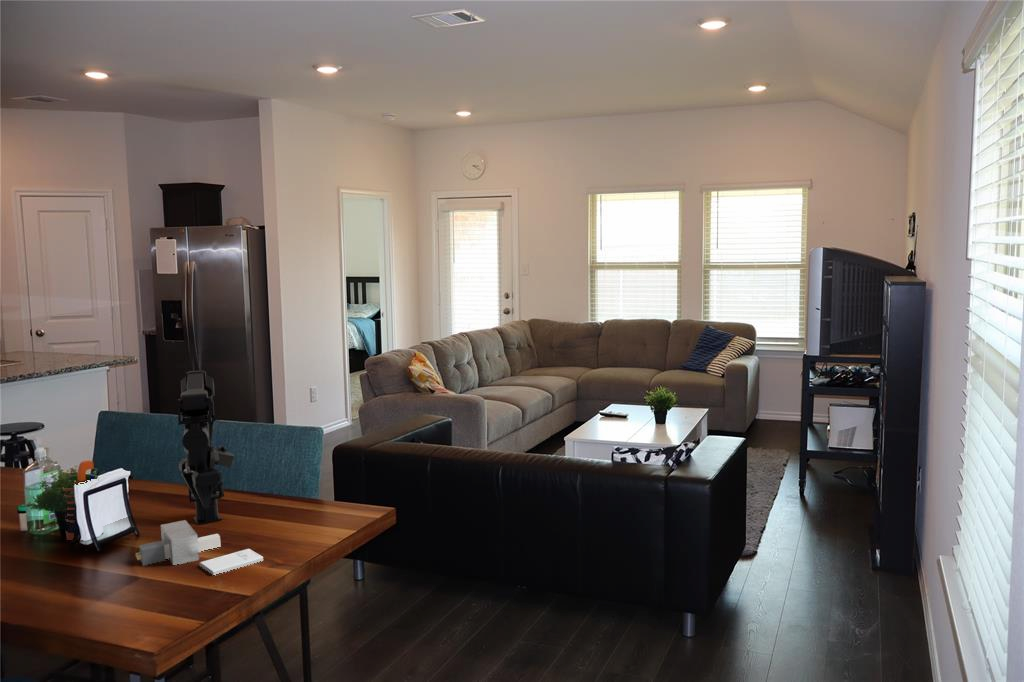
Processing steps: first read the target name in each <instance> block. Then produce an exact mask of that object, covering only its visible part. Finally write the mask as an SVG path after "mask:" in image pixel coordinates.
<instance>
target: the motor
mask: <svg viewBox="0 0 1024 682" xmlns="http://www.w3.org/2000/svg"><path fill="white" fill-rule="evenodd" d="M94 466H95V465H94V460H93V461H92V460H83V461H81V462H80V463H79V465H78V469H77V474H75V475H74V474H73V475H70V476H69V475H68V476H66V477H63V478H61V479H62V480H63V479H65V478H74V479H75V480H76V482H75V484H76V485H78V483H79V482H85V481H86V482H85V483H87V482H88V481H87V480H90V481H91V479H97V478H98V479H99V476H98V475H97V474H93V473H87V471H89V470H93V469H94ZM94 470H95V469H94ZM80 484H84V483H80ZM73 485H74V484H73ZM61 488H62V489H63V490H62V491H63V492H64V491H74V488H64V487H62V486H61ZM64 496H65V497H68V498H72V497H74V495H67V494H64ZM64 496H63V497H64ZM65 497H64V498H65ZM67 504H75V501H67ZM67 510H75V507H67ZM73 515H74V514H70V513H69V514H68V513H67V516H73ZM67 516H66V517H67ZM65 521H66V522H70V523H75V522H74V521H75V520H69V519H66V518H65ZM65 535H66V541H68V540H73V538H74V533H69V532H67V531H66V530H65Z"/></svg>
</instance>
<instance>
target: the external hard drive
mask: <svg viewBox="0 0 1024 682" xmlns="http://www.w3.org/2000/svg"><path fill="white" fill-rule="evenodd" d="M260 561H261V562H263V561H264V556H262V555H261V554H259V553H257V552H255V551H254V550H252V549H250V548H245V549H242V550H239V551H235V552H232V553H229V554H225V555H221V556H217V557H214V558H211V559H207V560H203V561H200V562H199V563H198V564H199V567H200V568H201V567H202V568H201V569H203V570H204V569H205V570H204V571H206V570H207V571H208V572H209V574H210V573H211V574H212V575H211V574H210V575H211V576H213V575H215V576H217V575H216V574H219V573H222V574H224V573H223V572H225V573H228V572H231V571H230V570H232V571H234V570H233V569H235V570H238V569H241V568H240V567H242V568H244V566H245V567H248V566H251V565H254V563H255V564H258V563H261V562H260ZM257 562H258V563H257ZM250 564H251V565H250ZM247 565H248V566H247ZM237 568H238V569H237ZM207 571H206V572H207ZM227 571H228V572H227ZM208 572H207V573H208ZM219 575H220V574H219Z"/></svg>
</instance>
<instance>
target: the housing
mask: <svg viewBox="0 0 1024 682" xmlns="http://www.w3.org/2000/svg"><path fill="white" fill-rule="evenodd" d="M160 532H161V533H160V534H161V542H162V543H163V545H167V544H169V551H170V559H169V561H170V563H171V564H172V566H173V565H175V566H178V565H177V564H179V565H183V564H188V563H191V562H196V561H199V560H200V552H199V550H198V538H199V537H198V534H197V532H196V531H195V530H194V529H193V527H192V526H191V525H190V524H189V522H188V521H187V520H185V519H184V520H179V521H178V520H177V521H173V522H169V523H164V524H163V523H162V524H160ZM187 562H188V563H187Z"/></svg>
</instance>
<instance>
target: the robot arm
mask: <svg viewBox="0 0 1024 682" xmlns="http://www.w3.org/2000/svg"><path fill="white" fill-rule="evenodd" d="M214 383H215V382H214V377H211V376H209V375H208V374H207V372H206V371H205V370H203V369H202V370H190V371H188V372H185V376H184V377H183V378H182V379H181V380H180V389H181V391H180V392H181V393H180V399H179V398H178V399H177V417H178V419H177V420H178V421H177V422H178V426H181V425H183V429H184V430H183V436H182V441H181V442H182V445H183V451H184V452H185V455H186V456H185V457H186V458H185V457H184V458H182V459H180V461H178V470H179V471H180V474H181V475H182V478H183V479H184V482H185V483H186V484H187V486H188V498H189V503H194V502H195V503H194V504H195V516H192V520H193V521H194V522H195V523H196V524H197V525H203V524H207V523H214V522H217V520H218V521H222V520H223V518H222V517H221V515H220V514H219V510H218V509H219V508H218V499H219V500H220V499H222V498H224V497H225V489H224V487H225V486H224V481H223V478H222V477H223V476H222V473H221V472H220V471H219V470H217V468H216V465H217V466H222V467H226V468H229V469H232V468H233V465H234V462H235V459H236V455H235V454H233V453H232V452H230V451H227V450H226V447H225V446H223V445H218V446H217V447H216V448H214V447H213V446H212V445H211V442H210V427H209V426H210V425H209V423H212V422H213V419H214V418H215V408H214V407H215V406H214V405H215V404H214V400H213V397H214V396H215V384H214ZM221 519H222V520H221Z"/></svg>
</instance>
